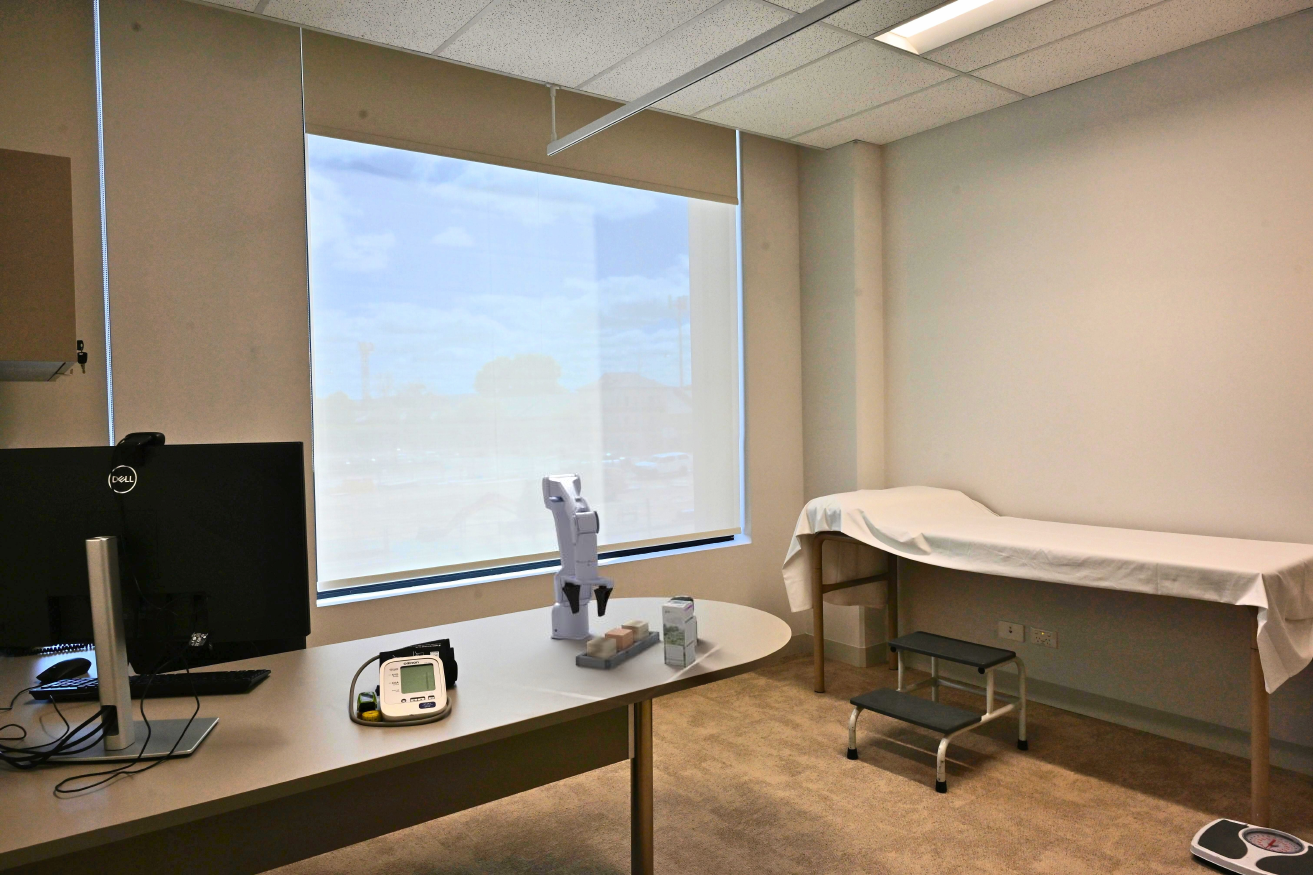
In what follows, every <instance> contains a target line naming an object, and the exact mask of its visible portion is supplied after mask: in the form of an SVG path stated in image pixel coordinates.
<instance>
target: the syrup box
mask: <svg viewBox="0 0 1313 875" xmlns="http://www.w3.org/2000/svg"><path fill="white" fill-rule="evenodd" d="M661 612H662V613H661V614H662V636H663V638H662V639H663V640H662V642H663V657H664V659H663V660H664V665H666V664H667V665H673V666H674V665H675V666H683V667H684V668H685V669H687V668H688V667H690V666H691V665H692V664H694V663H695V659H696V655H695V654H696V653H695V652H696V651H695V646H694V627H693V602H691V601H678V600H671V599H670V600H668V601H666V602H664V603H663V604H662V606H661Z"/></svg>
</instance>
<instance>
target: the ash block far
mask: <svg viewBox="0 0 1313 875" xmlns="http://www.w3.org/2000/svg"><path fill="white" fill-rule="evenodd" d="M621 629H627V630H633V639H635V640H642V639H644V638H645V637H647V636H649V631H650V630H649V621H645V620H637V619H635V620H634V619H630V620H628V621H626V622H625V623H623V624H621Z"/></svg>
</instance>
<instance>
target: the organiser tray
mask: <svg viewBox="0 0 1313 875" xmlns="http://www.w3.org/2000/svg"><path fill="white" fill-rule="evenodd" d="M658 641H660V631H652V630H649V636H647V637H645V638H644V639H642V640H635V639H633V645H631V646H629V647H628V648H626V649H618V648H616V652H617V654H615V655H614V656H612V657H610V658H608V659H601V658H594V657H587V650H585V651H583V652H581V653H579V654H578V655H575V666H579V667H586V668H587V667H588V668H594V669H600V670H606V671H607V670H608V671H610V670H611V669H612V668H615V667H616V666H617V665H620V664H621V663H623V662H624V661H626V660H628V659H629V658H631V657H633V656H635V655H636V654H639V653H640V652H641V651H643V650H645V649H647V648H648V647H650V646H652V645H654V644H655V643H656V642H658Z"/></svg>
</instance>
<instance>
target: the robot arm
mask: <svg viewBox="0 0 1313 875" xmlns="http://www.w3.org/2000/svg"><path fill="white" fill-rule="evenodd" d="M581 482H582V481H581V478H580V475H579V474H578V473H577V472H575V473H571V474H570V473H569V474H557V475H556V474H555V475H544V476H543V477H542V482H541V484H542V485H541V487H542V496H543V502H544V505H545V509H547V510H550V511H551V513H552V516H553V520H554V527H555V532H556V538H557V540H556V541H557V545H558V550H559V559H560V564H561V568H560V569H559V570H558V571H557V572H556V573H555V574H554V576H553V579H552V580H553V595H554V600H555V601H556V602H555V603H554V604H553V606H552V608H551V634H552V635H550V638H552V639H559V640H560V639H561V640H563V639H569V640H578V641H580V640H582V639H584V638H587V637H589V636H591V635H593V634H594V633H596V631H595V630H590V625H589V624H590V622H589V621H590V620H589V604H590V603H591V600H592V599H593V597H594V596H595V600H596V608H597V609H596V611H597V617H600V618H601V617H603V616H605V614H606V610H607V605H608V602H609V599H610V597H611V594H612V592H613V591H614V587H615V579H614V578H608V577H605V576H599V559H598V558H599V557H598V556H599V555H598V554H599V553H598V534H599V532H600V527H601V526H600V516H599V513H598V512H597V510H593V509H591V508H590V506H589V504H588V502H587V501H586V499H585V498H583V497H582V496H580V495H581V489H582V483H581ZM594 587H597V588H594Z"/></svg>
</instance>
